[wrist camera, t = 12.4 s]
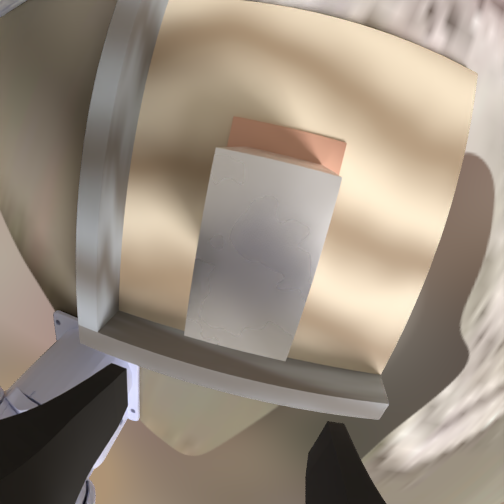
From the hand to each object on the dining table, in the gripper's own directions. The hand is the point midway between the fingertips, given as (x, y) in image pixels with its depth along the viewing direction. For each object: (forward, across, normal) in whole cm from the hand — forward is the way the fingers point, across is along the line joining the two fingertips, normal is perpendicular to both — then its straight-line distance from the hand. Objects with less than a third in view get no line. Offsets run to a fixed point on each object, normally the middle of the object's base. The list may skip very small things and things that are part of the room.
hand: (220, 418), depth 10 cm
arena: (+10, 0, -6) cm, 12 cm away
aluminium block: (+9, 0, -5) cm, 11 cm away
